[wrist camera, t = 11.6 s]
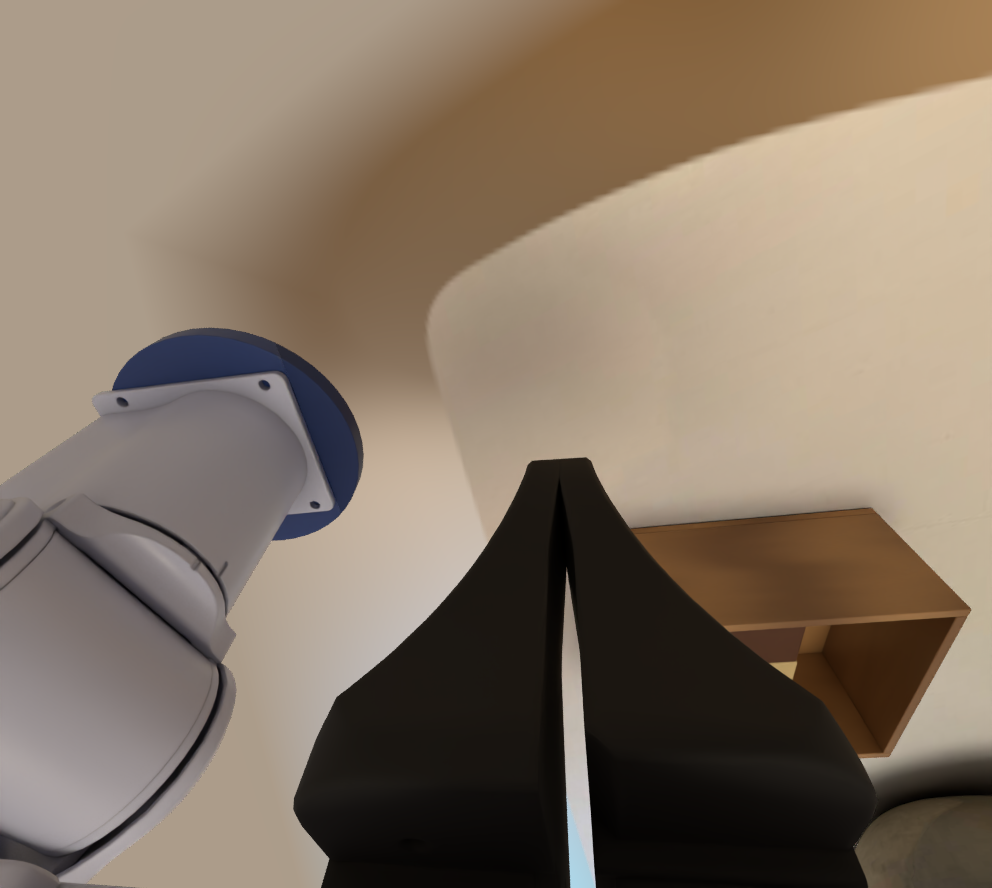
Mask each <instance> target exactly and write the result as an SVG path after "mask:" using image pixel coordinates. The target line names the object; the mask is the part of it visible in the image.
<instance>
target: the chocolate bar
mask: <svg viewBox="0 0 992 888" xmlns="http://www.w3.org/2000/svg"><path fill="white" fill-rule="evenodd" d="M805 629H806V627H794V628H779V629H764V630H749V631H734V632H730V633H731V634H733V635H734V636H735V637H736V638H738V639H739V640H740V641H741V642H743V643H744V644H745V645H746V646H748V647H749V648H750V649H751V650H753V651H754V652H755V653H756V654H758V655H759V656H760V657H761V658H763V659H764V660H765V661H767V662H768V663H769V664H771V665H772V666H773V667H775V668H776V669H778V670H779V671H780V672H782V673H783V674H785V675H786V676H788V677H789V678H790V679H793V676H794V672H795V669H796V666H797V656H798V653H799V649H800V646H801V642H802V639H803V635H804V632H805Z"/></svg>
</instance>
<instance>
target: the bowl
mask: <svg viewBox="0 0 992 888" xmlns="http://www.w3.org/2000/svg"><path fill="white" fill-rule="evenodd" d="M855 853H856V855H857V857H858V860H859V862H860V865H861V867H862V869H863V872H864V874H865V876H866V879H867V883H868V888H992V796H991V795H966V796H948V797H937V798H931V799H922V800H917V801H914V802H910V803H906V804H903V805H899V806H897V807H895V808H892V809H890V810H889V811H887V812H885V813H883V814H882V815H880V816H879V817H878V818H877V819H876V820H875V821H873V822H872V823H871V824H870V826H869V827H868V828H867V829H866V831H865V832H864V833H863V835H862V837H861V839H860V841H859V843H858V844H857V847H856V849H855Z"/></svg>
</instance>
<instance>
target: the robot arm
mask: <svg viewBox="0 0 992 888" xmlns="http://www.w3.org/2000/svg"><path fill="white" fill-rule="evenodd" d="M262 380H266V381H267V382H268V383H269V384H270V387H267V386H265V385H264V384H263V382H262ZM123 398H124V399H126V400H127V402H128V403H127V402H125V401H124V400H123ZM92 402H93V405H94V407H95V408H96V410H97V411H98V413H99V414H100V416H101V417H100V418H98V419H97V420H95V421H94V422H92V423H91V424H89V425H88V426H86V427H85V428H83V429H82V430H81V431H79V432H77V433H76V434H75V435H73V436H72V437H70V438H69V439H67V440H66V441H64V442H63V443H61V444H60V445H58V446H57V447H55V448H54V449H52V450H51V451H49V452H48V453H47V454H45V455H44V456H42V457H41V458H39V459H38V460H36V461H35V462H33V463H32V464H30V465H29V466H27V467H26V468H24V469H23V470H22V471H20V472H19V473H17V474H16V475H14V476H13V477H11V478H10V479H8V480H7V481H5V482H4V483H3V484H1V485H0V888H133V887H120V886H107V885H93V884H86V883H87V882H88V881H89V880H90V879H92V878H93V877H94V876H95V875H96V874H97V873H98V872H99V871H100V870H101V869H102V868H104V867H105V865H107V864H108V863H109V862H110V861H112V860H113V859H114V858H116V857H117V856H118V855H120V854H121V853H122V852H124V851H125V850H126V849H128V848H129V847H130V846H132V845H133V844H134V843H135V842H137V841H138V840H140V839H141V838H142V837H143V836H144V835H146V834H147V833H148V832H150V831H151V830H152V829H153V828H155V827H156V826H157V825H158V824H159V823H160V822H162V821H163V820H164V819H165V818H166V817H167V816H168V815H169V814H170V813H171V812H172V811H173V810H174V809H175V808H176V807H177V806H178V805H179V804H180V802H182V800H183V799H184V798H185V797H186V796H187V794H188V793H189V792H190V791H191V790H192V788H193V787H194V786H195V784H196V783H197V782H198V780H199V779H200V778H201V776H202V775H203V773H204V772H205V770H206V769H207V767H208V766H209V764H210V763H211V761H212V759H213V757H214V756H215V754H216V752H217V750H218V748H219V746H220V744H221V741H222V740H223V737H224V735H225V732H226V729H227V726H228V724H229V721H230V719H231V715H232V712H233V708H234V704H235V697H236V683H235V679H234V677H233V674H232V672H231V671H230V670H229V669H228V668H227V667H226V666H225V665H223V664H221V662H222V660H223V659H224V657H225V655H226V653H227V651H228V649H229V648H230V646H231V644H232V642H233V640H234V638H235V637H236V633H235V632H234V631H233V630H232V629H231V628H230V627H229V625H228V623H227V621H226V617H227V615H228V613H229V612H230V610H231V608H232V607H233V605H234V603H235V602H236V600H237V598H238V597H239V595H240V593H241V591H242V590H243V588H244V586H245V585H246V583H247V581H248V580H249V578H250V576H251V574H252V573H253V571H254V569H255V568H256V566H257V564H258V563H259V561H260V559H261V558H262V556H263V554H264V553H265V551H266V549H267V547H268V546H269V544H270V542H271V541H272V539H273V537H274V536H275V534H276V532H277V530H278V529H279V527H280V525H281V524H282V522H283V520H284V519H285V517H286V515H288V514H299V513H310V512H320V511H328V510H331V509H332V508H333V506H334V504H335V498H334V495H333V493H332V490H331V488H330V485H329V483H328V480H327V477H326V475H325V472H324V470H323V467H322V465H321V462H320V460H319V457H318V454H317V452H316V449H315V447H314V444H313V442H312V439H311V437H310V434H309V431H308V429H307V426H306V424H305V421H304V419H303V416H302V414H301V411H300V408H299V406H298V403H297V401H296V398H295V396H294V393H293V391H292V388H291V385H290V383H289V380H288V378H287V377H286V375H284V374H283V373H282V372H279V371H268V372H260V373H252V374H243V375H235V376H227V377H219V378H211V379H203V380H195V381H186V382H178V383H170V384H162V385H154V386H146V387H137V388H129V389H121V390H113V391H105V392H100V393H98V394H96V395H95V396H94V397H93V398H92ZM313 501H316V502H318V503H319V504H316V503H314V502H313ZM566 568H567V572H568V578H569V585H570V591H571V598H572V604H573V611H574V617H575V624H576V630H577V636H578V643H579V649H580V660H581V677H582V694H583V711H584V728H585V741H586V755H587V768H588V781H589V794H590V807H591V822H592V838H593V853H594V869H595V880H596V888H868V883H867V879H866V876H865V874H864V872H863V869H862V867H861V865H860V862H859V860H858V857H857V855H856V853H855V850H854V848H853V847H854V845H855V844H856V842H857V841H858V839H859V837H860V836H861V834H862V833H863V831H864V830H865V828H866V827H867V825H868V824H869V822H870V821H871V819H872V817H873V815H874V812H875V809H876V806H877V803H878V798H877V795H876V793H875V790H874V788H873V785H872V783H871V781H870V779H869V776H868V774H867V772H866V770H865V768H864V766H863V764H862V762H861V761H860V759H859V757H858V755H857V753H856V752H855V750H854V748H853V747H852V745H851V744H850V742H849V740H848V739H847V737H846V736H845V734H844V732H843V731H842V729H841V728H840V726H839V725H838V723H837V722H836V720H835V719H834V717H833V716H832V714H831V713H830V711H829V710H828V708H827V707H826V705H825V704H824V702H823V701H822V700H820V699H819V698H817V697H816V696H814V695H813V694H812V693H810V692H809V691H807V690H806V689H805V688H803V687H802V686H800V685H799V684H797V683H796V682H795V681H793V680H792V679H790V678H789V677H788V676H786V675H785V674H783V673H782V672H780V671H779V670H778V669H776V668H775V667H773V666H772V665H771V664H769V663H768V662H767V661H765V660H764V659H763V658H761V657H760V656H759V655H758V654H756V653H755V652H754V651H753V650H751V649H750V648H749V647H748V646H746V645H745V644H744V643H743V642H741V641H740V640H739V639H738V638H736V637H735V636H734V635H733V634H731V633H730V632H729V631H728V630H727V629H726V628H725V627H723V626H722V625H721V624H720V623H719V622H718V621H717V620H716V619H714V618H713V617H712V616H711V615H710V614H709V613H708V612H707V611H705V610H704V609H703V608H702V607H701V606H700V605H699V604H698V603H696V602H695V601H694V600H693V599H692V598H691V597H690V596H689V595H688V594H687V593H686V592H685V591H684V590H683V589H682V588H681V587H680V586H679V585H678V584H677V583H676V582H675V581H674V580H673V579H672V578H671V577H670V576H669V575H668V574H667V572H666V571H665V570H664V569H663V568H662V567H661V566H660V565H659V564H658V563H657V562H656V560H655V559H654V558H653V557H652V556H651V555H650V553H649V552H648V551H647V550H646V549H645V547H644V546H643V545H642V544H641V542H640V541H639V540H638V538H637V537H636V536H635V535H634V533H633V532H632V531H631V529H630V528H629V527H628V525H627V524H626V522H625V521H624V520H623V518H622V517H621V515H620V514H619V512H618V511H617V509H616V508H615V506H614V505H613V503H612V502H611V500H610V498H609V497H608V495H607V493H606V492H605V490H604V488H603V486H602V484H601V483H600V481H599V479H598V477H597V475H596V473H595V470H594V468H593V465H592V462H591V461H590V460H589V459H588V458H586V457H585V458H569V459H553V460H537V461H532V462H530V463H529V464H528V466H527V469H526V472H525V475H524V478H523V480H522V482H521V485H520V487H519V489H518V491H517V493H516V495H515V497H514V500H513V501H512V503H511V505H510V507H509V509H508V511H507V513H506V514H505V516H504V518H503V520H502V522H501V523H500V525H499V527H498V528H497V530H496V531H495V533H494V535H493V536H492V538H491V539H490V541H489V542H488V544H487V546H486V547H485V549H484V550H483V552H482V553H481V555H480V556H479V557H478V559H477V560H476V562H475V563H474V564H473V566H472V567H471V568H470V570H469V571H468V572H467V573H466V575H465V576H464V577H463V579H462V580H461V581H460V582H459V583H458V585H457V586H456V587H455V588H454V589H453V590H452V592H451V593H450V594H449V595H448V596H447V597H446V599H445V600H444V601H443V602H442V603H441V604H440V606H438V608H437V609H436V610H435V611H434V612H433V613H432V614H431V615H430V616H429V617H428V618H427V619H426V620H425V621H424V622H423V623H422V624H421V625H420V626H419V627H418V628H417V629H416V630H415V631H414V632H413V633H412V634H411V635H410V636H408V637H407V638H406V639H405V640H404V641H403V642H402V643H401V644H400V645H399V646H398V647H397V648H396V649H395V650H394V651H393V652H392V653H391V654H389V655H388V656H387V657H386V658H385V659H384V660H382V661H381V662H380V663H379V664H378V665H376V666H375V667H374V668H373V669H372V670H370V671H369V672H368V673H367V674H365V675H364V676H363V677H362V678H360V679H359V680H358V681H357V682H355V683H354V684H353V685H352V686H351V687H350V688H348V689H347V690H346V691H344V692H343V693H341V694H340V695H339V696H338V697H337V698H336V699H335V702H334V704H333V706H332V708H331V710H330V712H329V714H328V716H327V718H326V720H325V722H324V723H323V726H322V728H321V730H320V732H319V734H318V736H317V739H316V741H315V744H314V747H313V749H312V752H311V754H310V757H309V760H308V762H307V765H306V768H305V770H304V773H303V776H302V778H301V781H300V784H299V787H298V789H297V792H296V795H295V797H294V808H293V809H294V812H295V814H296V816H297V818H298V820H299V822H300V823H301V825H302V827H303V828H304V829H305V830H306V831H307V833H308V834H309V835H310V836H311V837H312V839H313V840H314V841H315V842H316V843H317V844H318V846H319V847H320V848H321V849H322V850H323V852H324V853H325V854H326V855H327V856H328V857H329V862H328V866H327V869H326V873H325V876H324V879H323V883H322V886H321V888H570V870H569V846H568V826H567V825H568V824H567V802H566V777H565V752H564V727H563V701H562V644H563V625H564V607H565V588H566Z"/></svg>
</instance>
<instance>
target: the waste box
mask: <svg viewBox="0 0 992 888" xmlns="http://www.w3.org/2000/svg"><path fill="white" fill-rule="evenodd" d="M631 531H632V532H633V533H634V535H635V536H636V537H637V538H638V540H639V541H640V542H641V544H642V545H643V546H644V547H645V549H646V550H647V551H648V552H649V553H650V555H651V556H652V557H653V558H654V559H655V560H656V562H657V563H658V564H659V565H660V566H661V567H662V568H663V569H664V570H665V571H666V572H667V574H668V575H669V576H670V577H671V578H672V579H673V580H674V581H675V582H676V583H677V584H678V585H679V586H680V587H681V588H682V589H683V590H684V591H685V592H686V593H687V594H688V595H689V596H690V597H691V598H692V599H693V600H694V601H695V602H696V603H698V604H699V605H700V606H701V607H702V608H703V609H704V610H705V611H707V612H708V613H709V614H710V615H711V616H712V617H713V618H714V619H716V620H717V621H718V622H719V623H720V624H721V625H722V626H723V627H725V628H726V629H727V630H728V631H729V632H734V631H749V630H764V629H779V628H794V627H806V629H805V632H804V635H803V639H802V642H801V646H800V649H799V653H798V656H797V666H796V669H795V672H794V676H793V679H792V680H793V681H795V682H796V683H797V684H799V685H800V686H802V687H803V688H805V689H806V690H807V691H809V692H810V693H812V694H813V695H814V696H816V697H817V698H819V699H820V700H822V701H823V702H824V704H825V705H826V707H827V708H828V710H829V711H830V713H831V714H832V716H833V717H834V719H835V720H836V722H837V723H838V725H839V726H840V728H841V729H842V731H843V732H844V734H845V736H846V737H847V739H848V740H849V742H850V744H851V745H852V747H853V748H854V750H855V752H856V753H857V755H858V757H859V758H876V757H889V756H890V755H891V752H892V751H893V749H894V747H895V746H896V744H897V742H898V740H899V738H900V737H901V735H902V733H903V731H904V729H905V728H906V726H907V724H908V722H909V720H910V719H911V717H912V715H913V713H914V712H915V710H916V708H917V706H918V704H919V703H920V701H921V699H922V697H923V695H924V694H925V692H926V690H927V688H928V686H929V685H930V683H931V681H932V679H933V678H934V676H935V674H936V672H937V670H938V669H939V667H940V665H941V663H942V661H943V660H944V658H945V656H946V654H947V652H948V651H949V649H950V647H951V645H952V643H953V642H954V640H955V638H956V636H957V635H958V633H959V631H960V629H961V627H962V626H963V624H964V622H965V620H966V618H967V616H968V615H969V613H970V611H971V608H970V607H969V606H968V605H967V604H966V603H965V602H964V601H963V600H962V599H961V598H960V597H959V596H958V595H957V594H956V593H955V592H954V591H953V590H952V589H951V588H950V587H949V586H948V585H947V584H946V583H945V582H944V581H943V580H942V579H941V578H940V577H939V576H938V575H937V574H936V573H935V572H934V571H933V570H932V569H931V568H930V567H929V566H928V565H927V564H926V563H925V562H924V561H923V560H922V559H921V558H920V557H919V556H918V554H917V553H916V552H915V551H914V550H913V549H912V548H911V547H910V546H909V545H908V544H907V543H906V542H905V541H904V540H903V539H902V538H901V537H900V536H899V535H898V534H897V533H896V532H895V531H894V530H893V529H892V528H891V527H890V526H889V525H888V524H887V523H886V522H885V521H884V520H883V519H882V518H881V517H880V516H879V515H878V514H877V513H876V512H875V511H874V510H873V509H872V508H869V509H857V510H846V511H834V512H822V513H811V514H799V515H788V516H776V517H764V518H753V519H741V520H729V521H718V522H706V523H695V524H683V525H671V526H660V527H648V528H636V529H631Z"/></svg>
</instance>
